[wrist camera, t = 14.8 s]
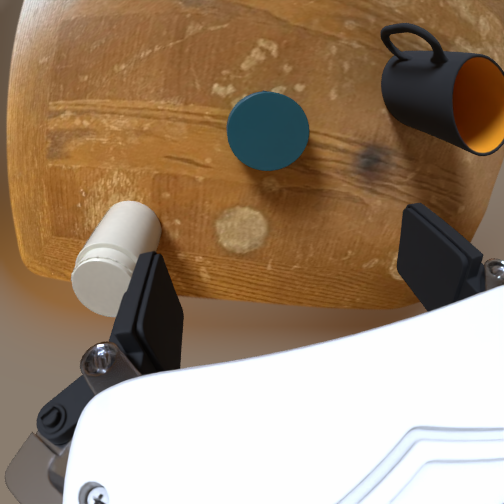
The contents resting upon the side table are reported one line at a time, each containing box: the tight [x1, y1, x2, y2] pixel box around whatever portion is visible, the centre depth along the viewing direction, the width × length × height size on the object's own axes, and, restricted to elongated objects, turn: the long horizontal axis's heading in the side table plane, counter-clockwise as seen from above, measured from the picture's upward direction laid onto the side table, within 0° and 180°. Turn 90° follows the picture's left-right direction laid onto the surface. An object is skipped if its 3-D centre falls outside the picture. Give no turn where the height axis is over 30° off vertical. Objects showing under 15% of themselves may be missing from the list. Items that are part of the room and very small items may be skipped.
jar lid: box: [227, 91, 309, 171], centre depth 24 cm, size 7×7×2 cm
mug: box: [381, 23, 504, 156], centre depth 19 cm, size 8×12×10 cm
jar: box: [71, 201, 161, 317], centre depth 25 cm, size 6×6×10 cm
